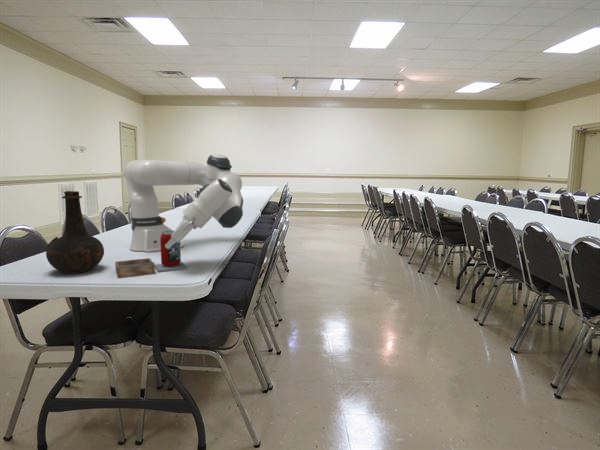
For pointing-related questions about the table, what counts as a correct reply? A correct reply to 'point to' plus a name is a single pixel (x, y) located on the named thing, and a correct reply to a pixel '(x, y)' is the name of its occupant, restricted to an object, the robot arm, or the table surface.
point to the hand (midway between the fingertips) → (168, 244)
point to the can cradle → (134, 267)
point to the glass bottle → (74, 241)
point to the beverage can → (169, 250)
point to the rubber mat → (170, 267)
